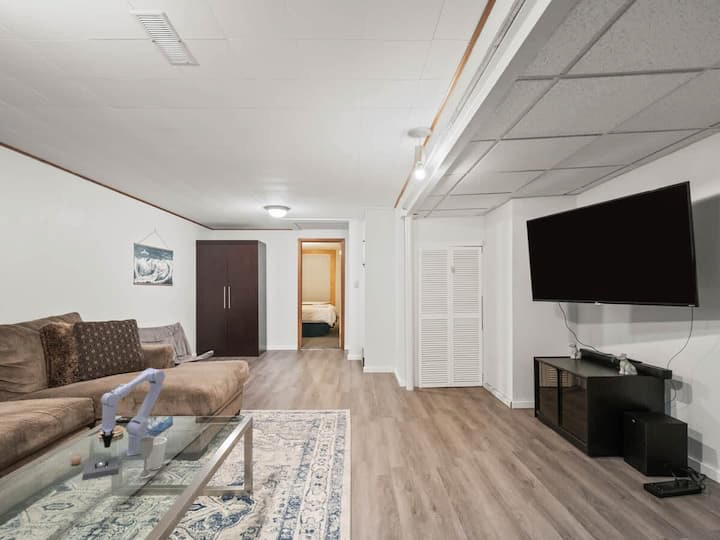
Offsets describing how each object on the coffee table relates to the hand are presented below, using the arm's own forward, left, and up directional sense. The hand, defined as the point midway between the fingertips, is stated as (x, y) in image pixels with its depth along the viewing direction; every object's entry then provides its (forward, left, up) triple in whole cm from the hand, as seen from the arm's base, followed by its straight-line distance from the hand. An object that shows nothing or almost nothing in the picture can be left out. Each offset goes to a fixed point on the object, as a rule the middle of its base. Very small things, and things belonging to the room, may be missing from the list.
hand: (107, 444), depth 204 cm
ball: (+13, -5, -7) cm, 16 cm away
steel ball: (+2, +7, -7) cm, 10 cm away
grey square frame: (+2, +7, -9) cm, 12 cm away
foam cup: (-21, +14, -10) cm, 27 cm away
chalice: (-16, +22, -10) cm, 29 cm away
